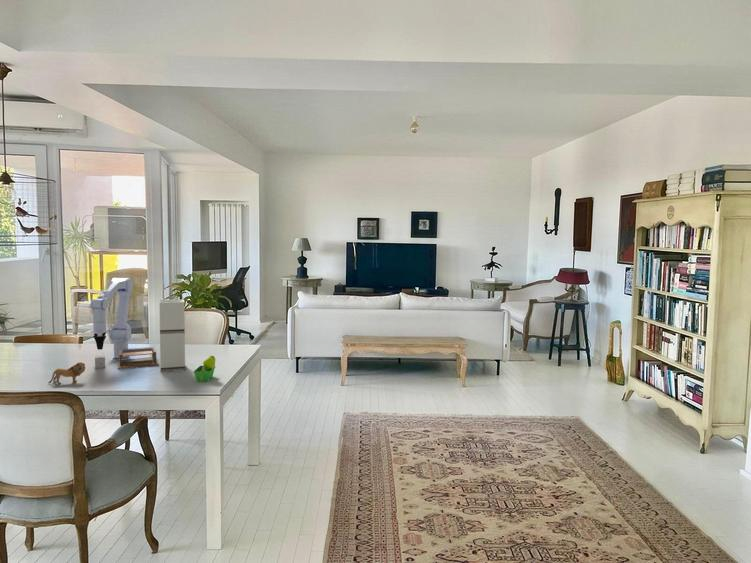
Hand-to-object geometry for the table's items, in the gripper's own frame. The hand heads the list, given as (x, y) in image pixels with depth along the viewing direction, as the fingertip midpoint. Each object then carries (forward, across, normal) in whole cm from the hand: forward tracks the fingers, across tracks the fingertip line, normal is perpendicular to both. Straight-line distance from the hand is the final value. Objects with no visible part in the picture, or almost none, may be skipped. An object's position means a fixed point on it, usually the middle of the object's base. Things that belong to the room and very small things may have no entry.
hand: (100, 348), depth 255 cm
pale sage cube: (+10, 0, 0) cm, 10 cm away
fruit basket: (+10, +46, +44) cm, 64 cm away
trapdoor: (+5, +1, +17) cm, 18 cm away
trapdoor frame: (+9, +2, +17) cm, 20 cm away
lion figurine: (+10, +25, -13) cm, 30 cm away
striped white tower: (+10, +19, +33) cm, 39 cm away
